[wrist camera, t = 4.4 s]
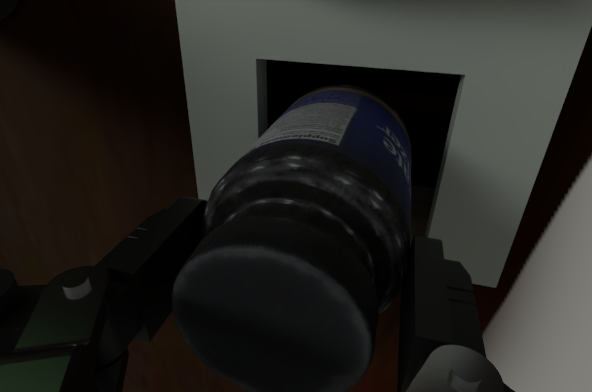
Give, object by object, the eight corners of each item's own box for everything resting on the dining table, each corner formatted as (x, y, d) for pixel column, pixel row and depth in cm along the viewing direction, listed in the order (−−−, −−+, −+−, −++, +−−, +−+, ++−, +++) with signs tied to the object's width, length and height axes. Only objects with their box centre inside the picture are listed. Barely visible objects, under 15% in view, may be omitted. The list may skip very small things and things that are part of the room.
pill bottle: (417, 201, 18) (424, 438, 9) (294, 211, 20) (194, 413, 11) (402, 66, 16) (389, 202, 6) (262, 93, 18) (95, 226, 8)
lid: (213, 220, 21) (158, 283, 17) (164, -264, 12) (20, -397, 8) (491, 270, 18) (513, 364, 14) (701, -332, 9) (960, -615, 5)
